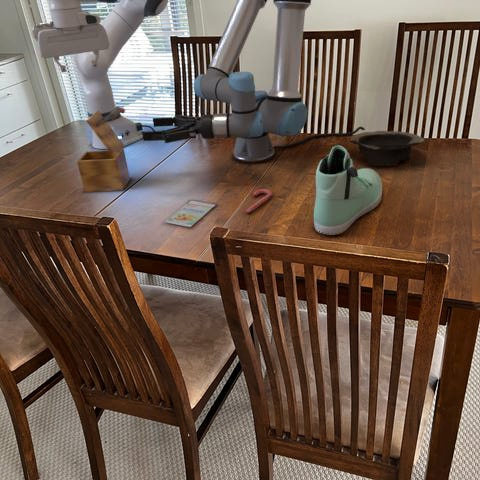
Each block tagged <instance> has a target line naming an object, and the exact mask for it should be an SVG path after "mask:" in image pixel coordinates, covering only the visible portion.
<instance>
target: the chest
mask: <svg viewBox="0 0 480 480" xmlns="http://www.w3.org/2000/svg"><path fill="white" fill-rule="evenodd" d="M76 165H77V167H78V171H79V174H80V178H81V183H82V186H83V190H84V192H85V193H91V192H92V193H93V192H111V191H112V192H113V191H124V190H125V188H126V187H127V184H128V183H129V182H130V180H131V178H130V173H129V172H130V171H129V168H128V162H127V158H126V153H125V149H124V148H123V150H122V151H121V153H120V154H119V155H118V157H116V158H114V157H113V156H112V154H111V153H110V152H109V150H108V149H99V150H86V151H85V152H83V154H82V155H81V156H80V157H79V159H78V160H77V161H76Z"/></svg>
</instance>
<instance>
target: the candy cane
mask: <svg viewBox="0 0 480 480" xmlns="http://www.w3.org/2000/svg"><path fill="white" fill-rule="evenodd" d="M261 194H265V195H264V196H263V197H262V198H260V199H259V200H257V201H256V202H255V203H254V204H252V205H251V206H250V207H248V208H247V209H246V210H245V213H246V214H248V215H249V214H251V213H252V212H254V211H255V210H257V209H258V208H259V207H260V206H261V205H263V204H264V203H265V202H267V201H268V200H269V199H271V198H272V197H273V192H272V191H271V190H270V189H266V188H260V189H256V190H255V191H253V193H252V196H253V197H257V196H258V195H261Z"/></svg>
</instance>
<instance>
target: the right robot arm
mask: <svg viewBox="0 0 480 480" xmlns="http://www.w3.org/2000/svg"><path fill="white" fill-rule="evenodd" d="M267 2H268V0H236V3H235V6H234V7H233V10H232V13H231V14H230V16H229V18H228V21H227V24H226V26H225V28H224V31H223V33H222V35H221V38H220V40H219V42H218V45H217V46H216V49H215V51H214V53H213V56H212V58H211V61H210V63H209V65H208V68H207V70H206V72H205V73H203V74H202V73H201V74H198V75H197V77H195V79H194V82H193V91H194V93H195V95H196V96H197V97H198V98H200V99H202V100H203V99H204V100H206V101H211V102H212V101H213V102H219V103H223V104H224V103H225V104H230V109H231V113H227V112H225V113H215V114H214V115H213V114H211V113H209V114H207V113H206V114H201V115H200V116H193V115H192V116H191V115H185V114H176V115H174V116H171V117H170V116H169V117H168V116H166V117H153V118H152V124H153V128H156V127H158V128H160V127H173V128H175V127H178V126H181V127H180V128H177V129H174V130H170V131H167V132H165V129H162V130H155V131H152V130H150V131H149V130H148V131H141V132H142V135H143V138H142V139H143V142H152V141H153V142H154V141H155V142H157V141H164V144H169V143H175V142H179V141H180V142H181V141H184V140H191V139H197V135H201V138H202V139H203V140H212V139H222V140H226V139H232V138H233V139H235V138H236V140H235V142H234V147H233V151H232V152H233V154H232V155H233V159H234V160H235V161H238V162H240V163H245V164H257V163H263V162H267V161H269V160H271V159H272V158H273V157H274V156H275V150H276V149H286V148H291V147H294V146H295V147H296V146H298V145H301V144H302V143H305V142H306V141H308V140H311V139H315V138H320V137H333V136H336V137H337V136H340V137H343V136H353V135H355V134H357V132H359V131H360V130H362V131H365V130H366V128H365V127H363V126H358V127H356V129H354V130H353V131H351V132H328V133H318V134H313V135H308V136H307V137H305V138H303V139H301V140H298V141H296V142H293V143H290V144H289V143H288V144H285V145H273V143H272V142H273V141H272V139H271V136H270V134H272V135H276V136H279V137H286V138H293V137H296V136H297V135H298V134H300V133H301V131H302V130H303V128H304V127H305V124H306V122H307V119H308V108H307V106H306V103H304V102H302V98H303V96H302V94H301V92H299V81H300V71H301V59H302V48H303V40H304V39H303V38H304V28H305V27H304V26H305V18H306V17H305V16H306V11H307V10H308V8H309V7H310V6H311V5H312V0H273V1H272V2H273V5H274V6H275V7H276V9H277V13H276V15H277V16H276V26H275V27H276V29H275V42H274V55H273V70H272V81H271V82H272V83H271V89H270V90H269V91H268V92H267V91H266V90H256V85H255V78H254V77H255V76H254V74H253V73H252V72H250V71H235V72H234V69H235V67H236V65H237V62H238V60H239V58H240V55H241V53H242V51H243V49H244V47H245V44H246V42H247V39H248V37H249V35H250V32H251V30H252V28H253V26H254V23H255V21H256V19H257V16H258V14H259V12H260V10H261V9H264V8H265V6H266V4H267Z"/></svg>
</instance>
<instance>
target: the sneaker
mask: <svg viewBox="0 0 480 480" xmlns="http://www.w3.org/2000/svg"><path fill="white" fill-rule="evenodd" d="M317 165H318V166H317V168H316V172H315V201H314V207H313V225H314V229H315V231H316V232H318V233H320V234H323V235H326V236H327V235H328V236H336V235H339V234H342V233H344V232H345V231H347V230H348V229H349V228H350V227H351V226H352V225H353V224H354V222H356V221H357V220H358V219H359V218H360V217H362V216H363V215H365V214H367V213H370V212H372V210H374V209H375V208H377V207H378V205H380V203H381V200H382V196H383V184H382V183H383V182H382V179H381V176H380V175H379V173H378V172H377V171H376V170H374V169H372V168H367V167H365V168H358V169H357V168H355V167H354V161H353V159H352V158H351V156H350V153H349V152H348V150H347V148H345V147H344V146H342V145H334V146H333V147H331V149H330V151H329V154H327V155H326V156H325V157H324V158H322V159H321V160H320V161H319V163H318V164H317ZM343 230H344V231H343ZM319 231H320V232H319ZM322 232H323V233H322ZM339 232H340V233H339ZM326 233H327V234H326ZM328 233H329V234H328ZM335 233H337V234H335Z"/></svg>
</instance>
